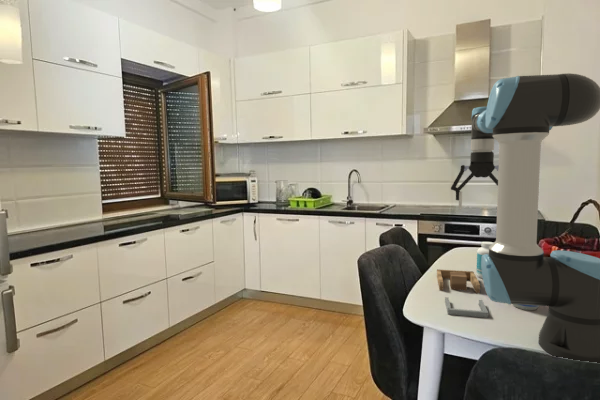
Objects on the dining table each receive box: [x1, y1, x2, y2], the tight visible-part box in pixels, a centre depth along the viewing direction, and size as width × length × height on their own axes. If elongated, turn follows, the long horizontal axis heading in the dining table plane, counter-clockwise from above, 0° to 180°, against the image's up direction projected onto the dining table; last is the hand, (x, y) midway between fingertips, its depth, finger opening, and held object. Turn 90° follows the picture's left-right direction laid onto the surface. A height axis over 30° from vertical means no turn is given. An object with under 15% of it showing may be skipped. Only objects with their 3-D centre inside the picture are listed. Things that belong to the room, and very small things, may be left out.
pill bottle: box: [475, 241, 494, 279], centre depth 150 cm, size 8×7×14 cm
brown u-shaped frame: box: [436, 269, 481, 294], centre depth 142 cm, size 16×13×3 cm
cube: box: [449, 272, 468, 292], centre depth 139 cm, size 5×5×5 cm
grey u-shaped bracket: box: [444, 296, 489, 319], centre depth 119 cm, size 10×11×2 cm
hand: (480, 210), depth 142 cm, fingers open, 13 cm apart
